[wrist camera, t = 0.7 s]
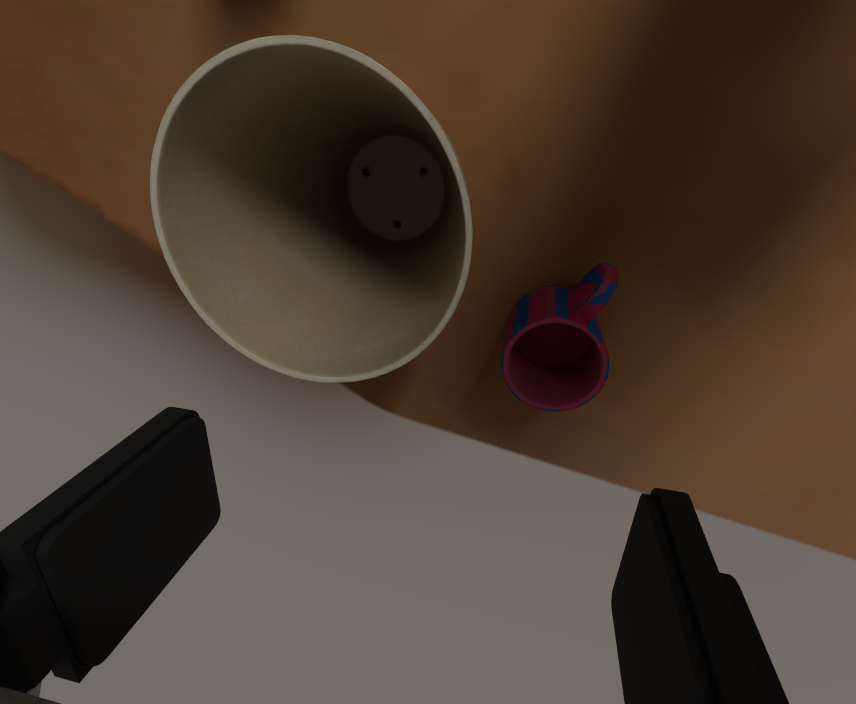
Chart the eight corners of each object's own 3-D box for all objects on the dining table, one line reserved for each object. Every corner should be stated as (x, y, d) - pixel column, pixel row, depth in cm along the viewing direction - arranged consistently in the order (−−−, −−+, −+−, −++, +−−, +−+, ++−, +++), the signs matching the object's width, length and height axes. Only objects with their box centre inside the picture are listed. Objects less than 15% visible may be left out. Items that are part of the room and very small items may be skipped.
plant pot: (291, 257, 40) (150, 330, 25) (317, 48, 33) (146, -11, 19) (466, 314, 38) (422, 424, 24) (532, 109, 32) (522, 95, 18)
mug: (490, 334, 39) (481, 373, 33) (575, 230, 34) (582, 252, 28) (558, 382, 39) (561, 429, 33) (651, 285, 35) (674, 319, 29)
